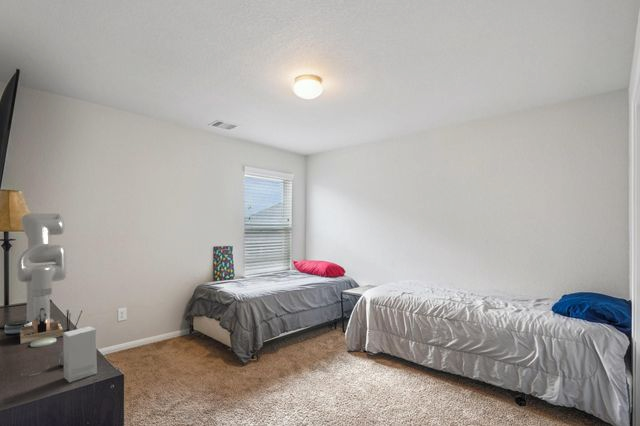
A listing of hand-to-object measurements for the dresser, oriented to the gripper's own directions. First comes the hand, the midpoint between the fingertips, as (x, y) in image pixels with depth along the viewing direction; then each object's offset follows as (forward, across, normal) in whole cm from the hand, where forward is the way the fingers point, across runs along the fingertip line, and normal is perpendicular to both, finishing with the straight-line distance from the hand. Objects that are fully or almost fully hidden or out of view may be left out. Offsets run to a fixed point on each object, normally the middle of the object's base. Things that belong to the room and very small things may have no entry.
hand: (41, 330), depth 159 cm
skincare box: (+3, +68, +7) cm, 68 cm away
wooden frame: (+3, 0, 0) cm, 3 cm away
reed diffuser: (+3, +53, +6) cm, 53 cm away
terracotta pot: (+3, 0, 0) cm, 3 cm away
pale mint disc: (+3, +15, 0) cm, 15 cm away
